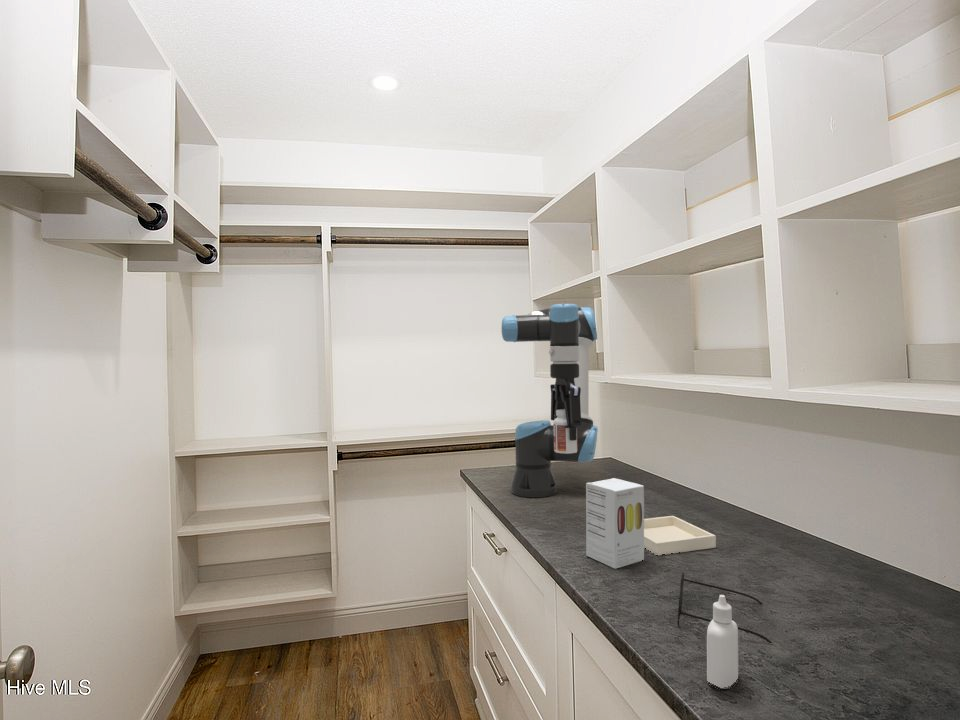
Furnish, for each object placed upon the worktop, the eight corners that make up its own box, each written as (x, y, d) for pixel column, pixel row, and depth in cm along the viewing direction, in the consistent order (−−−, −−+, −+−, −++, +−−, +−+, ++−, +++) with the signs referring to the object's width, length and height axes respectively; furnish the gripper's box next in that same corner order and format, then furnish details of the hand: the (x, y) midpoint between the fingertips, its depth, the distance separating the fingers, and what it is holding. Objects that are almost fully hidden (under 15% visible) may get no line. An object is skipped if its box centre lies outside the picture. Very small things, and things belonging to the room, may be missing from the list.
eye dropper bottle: (695, 674, 77) (695, 591, 76) (729, 667, 78) (728, 586, 78) (716, 693, 72) (715, 605, 72) (751, 686, 74) (750, 600, 73)
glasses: (679, 594, 103) (682, 569, 102) (765, 616, 97) (769, 590, 97) (676, 630, 89) (679, 601, 89) (776, 659, 84) (780, 628, 83)
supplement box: (615, 570, 113) (614, 491, 113) (584, 556, 121) (584, 482, 121) (645, 560, 118) (645, 484, 118) (614, 547, 126) (614, 476, 126)
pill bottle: (582, 452, 139) (582, 410, 139) (565, 455, 136) (564, 412, 136) (566, 448, 145) (565, 408, 144) (549, 451, 141) (548, 409, 141)
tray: (619, 532, 136) (619, 521, 136) (673, 526, 140) (673, 515, 140) (656, 555, 120) (656, 543, 120) (715, 547, 125) (715, 535, 125)
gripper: (537, 362, 148) (538, 444, 148) (567, 364, 129) (568, 458, 130) (562, 361, 150) (563, 443, 150) (595, 363, 132) (596, 456, 132)
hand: (565, 450), depth 140 cm, fingers closed on pill bottle, 6 cm apart
